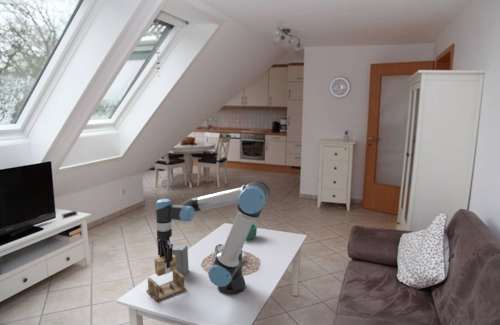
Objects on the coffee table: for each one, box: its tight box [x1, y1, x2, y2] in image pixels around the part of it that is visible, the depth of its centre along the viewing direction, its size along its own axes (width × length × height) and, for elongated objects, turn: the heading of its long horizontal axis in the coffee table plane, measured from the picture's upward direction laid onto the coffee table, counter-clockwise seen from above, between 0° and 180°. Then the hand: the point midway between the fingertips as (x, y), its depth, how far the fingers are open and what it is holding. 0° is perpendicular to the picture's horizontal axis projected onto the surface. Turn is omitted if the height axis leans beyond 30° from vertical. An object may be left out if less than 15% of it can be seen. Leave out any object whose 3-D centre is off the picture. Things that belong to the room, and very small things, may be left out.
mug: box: [246, 223, 258, 240], centre depth 248 cm, size 17×13×10 cm
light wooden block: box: [154, 253, 176, 277], centre depth 177 cm, size 4×10×8 cm, turn 131°
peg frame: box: [146, 270, 187, 303], centre depth 179 cm, size 12×17×8 cm
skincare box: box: [172, 244, 190, 277], centre depth 198 cm, size 8×7×16 cm
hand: (165, 270), depth 178 cm, fingers closed on light wooden block, 4 cm apart
